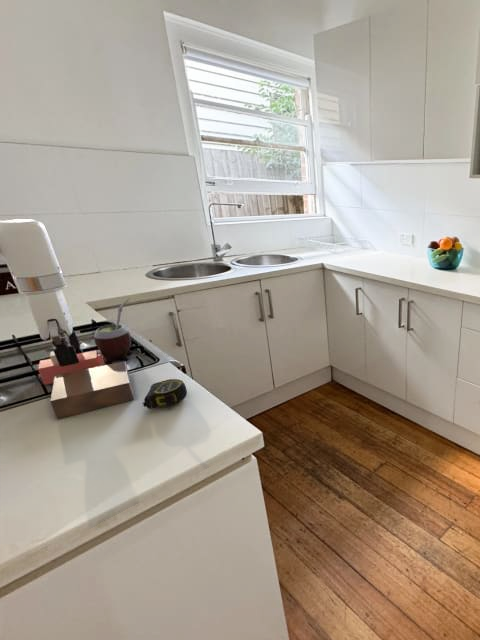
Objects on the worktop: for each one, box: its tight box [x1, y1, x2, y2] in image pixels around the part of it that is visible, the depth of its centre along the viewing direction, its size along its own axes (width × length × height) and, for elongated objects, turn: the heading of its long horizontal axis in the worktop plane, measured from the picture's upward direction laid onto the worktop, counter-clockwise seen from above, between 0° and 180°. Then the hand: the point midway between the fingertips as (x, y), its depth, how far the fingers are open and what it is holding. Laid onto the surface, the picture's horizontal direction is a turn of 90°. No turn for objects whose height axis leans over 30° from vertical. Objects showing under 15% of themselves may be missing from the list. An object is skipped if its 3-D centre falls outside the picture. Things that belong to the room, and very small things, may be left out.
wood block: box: [49, 360, 135, 420], centre depth 79 cm, size 12×12×4 cm
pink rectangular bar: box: [37, 349, 106, 386], centre depth 86 cm, size 11×5×6 cm, turn 128°
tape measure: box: [141, 378, 188, 410], centre depth 78 cm, size 7×7×4 cm
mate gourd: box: [93, 297, 133, 364], centre depth 93 cm, size 8×8×15 cm
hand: (70, 356), depth 86 cm, fingers open, 9 cm apart
